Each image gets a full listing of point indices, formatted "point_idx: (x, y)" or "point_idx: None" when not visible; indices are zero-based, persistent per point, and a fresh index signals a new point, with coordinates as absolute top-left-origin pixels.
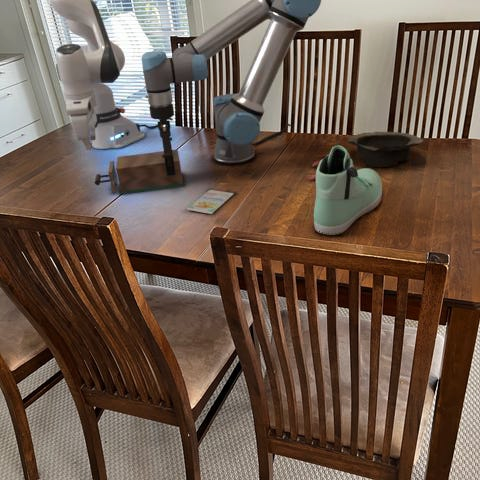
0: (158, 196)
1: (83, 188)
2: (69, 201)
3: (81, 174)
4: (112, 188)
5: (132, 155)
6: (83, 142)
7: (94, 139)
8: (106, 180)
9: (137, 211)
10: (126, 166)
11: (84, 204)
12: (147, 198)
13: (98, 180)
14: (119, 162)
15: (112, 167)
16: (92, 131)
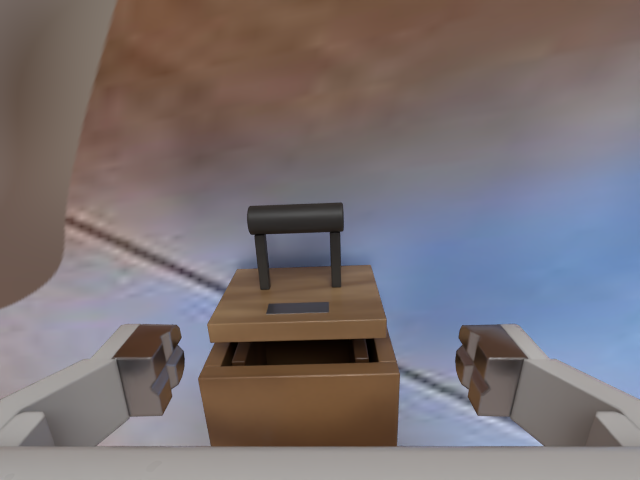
0: (192, 417)
1: (354, 106)
2: (204, 51)
3: (570, 60)
4: (232, 279)
5: (388, 445)
6: (24, 389)
7: (457, 365)
8: (258, 268)
9: (76, 357)
10: (222, 425)
11: (158, 141)
12: (181, 385)
13: (252, 232)
14: (296, 390)
15: (276, 340)
16: (554, 424)
